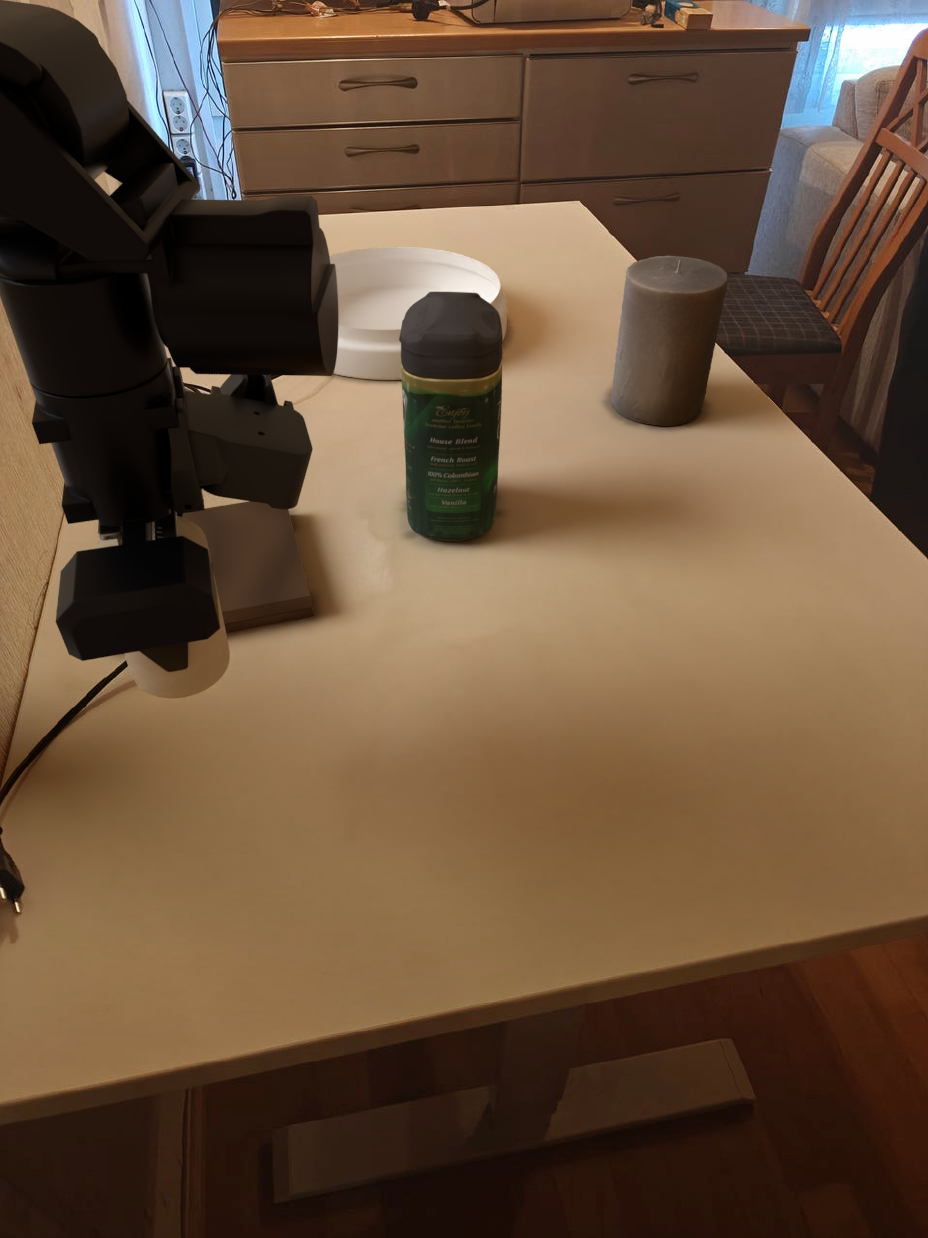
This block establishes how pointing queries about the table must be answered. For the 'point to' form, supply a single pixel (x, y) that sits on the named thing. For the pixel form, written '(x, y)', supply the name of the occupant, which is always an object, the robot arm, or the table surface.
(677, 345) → the pillar candle
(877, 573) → the table surface
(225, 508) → the dark wooden base block
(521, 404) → the table surface
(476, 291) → the round white dish
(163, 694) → the candle
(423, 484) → the coffee jar
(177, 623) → the robot arm
